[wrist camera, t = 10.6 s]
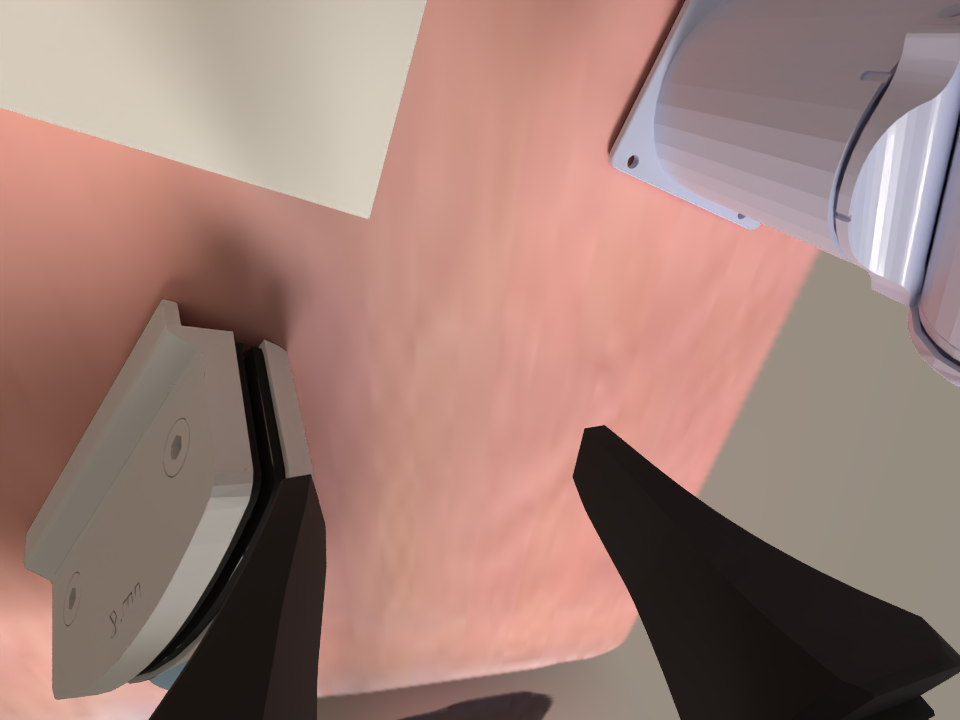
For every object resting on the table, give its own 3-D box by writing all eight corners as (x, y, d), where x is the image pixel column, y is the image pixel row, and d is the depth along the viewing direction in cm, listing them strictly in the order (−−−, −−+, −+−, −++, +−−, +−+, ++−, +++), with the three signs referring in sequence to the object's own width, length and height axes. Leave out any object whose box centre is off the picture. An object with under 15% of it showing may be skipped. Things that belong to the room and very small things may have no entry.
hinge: (166, 290, 17) (200, 518, 12) (281, 324, 21) (348, 508, 15) (23, 537, 22) (0, 776, 17) (136, 529, 26) (147, 722, 20)
